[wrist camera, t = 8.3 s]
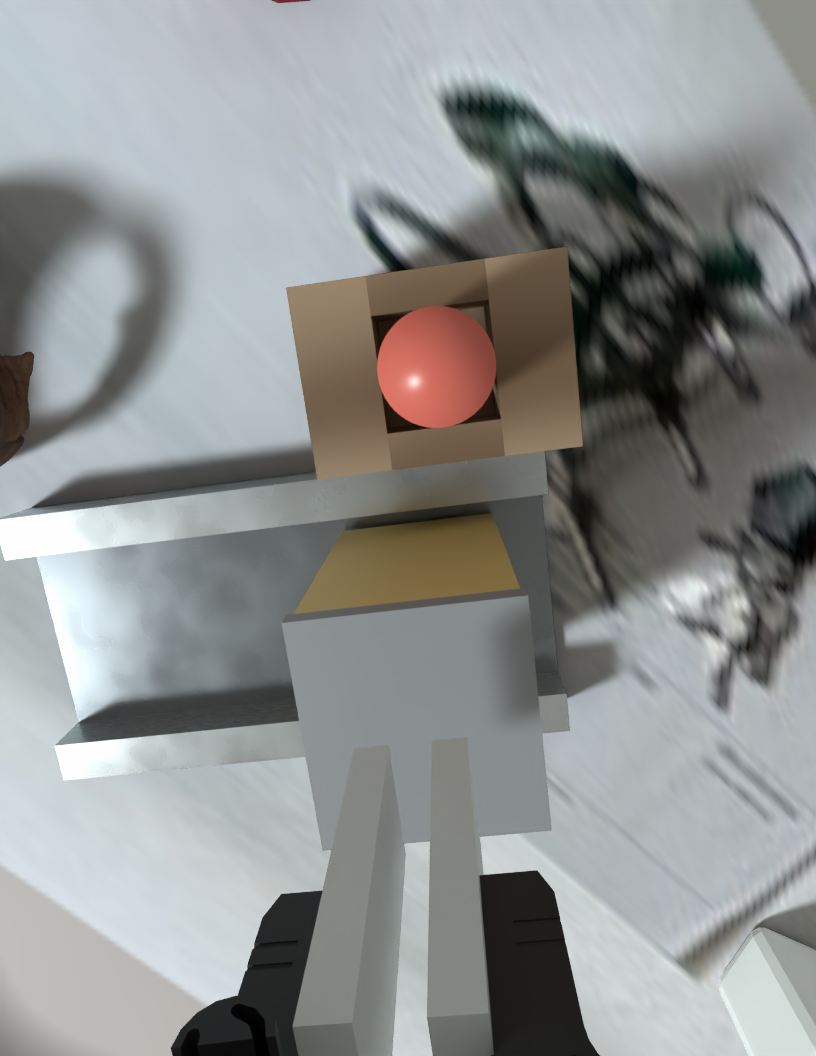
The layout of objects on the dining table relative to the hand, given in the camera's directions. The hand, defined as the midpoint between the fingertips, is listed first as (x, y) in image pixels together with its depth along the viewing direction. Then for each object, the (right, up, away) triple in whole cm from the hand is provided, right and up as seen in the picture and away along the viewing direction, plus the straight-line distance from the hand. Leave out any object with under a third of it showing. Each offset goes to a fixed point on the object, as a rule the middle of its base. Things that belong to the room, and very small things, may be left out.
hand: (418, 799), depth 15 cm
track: (-5, +3, +14) cm, 15 cm away
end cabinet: (+1, +12, +12) cm, 17 cm away
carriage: (+1, +3, +14) cm, 14 cm away
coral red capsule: (+1, +11, +5) cm, 12 cm away
